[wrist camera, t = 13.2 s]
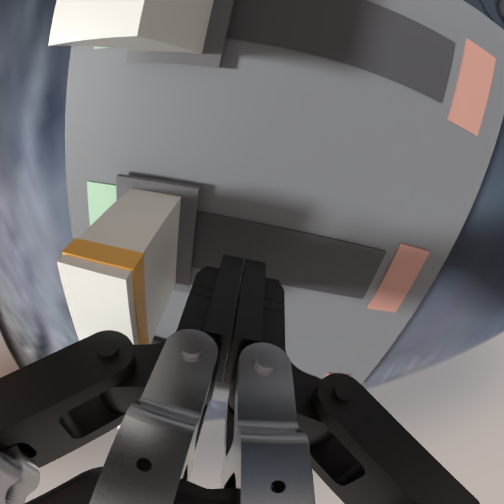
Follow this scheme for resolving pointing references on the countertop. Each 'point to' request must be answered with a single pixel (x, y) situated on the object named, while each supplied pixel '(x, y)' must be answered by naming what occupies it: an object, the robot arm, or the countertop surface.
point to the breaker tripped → (131, 259)
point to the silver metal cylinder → (495, 11)
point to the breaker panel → (307, 156)
